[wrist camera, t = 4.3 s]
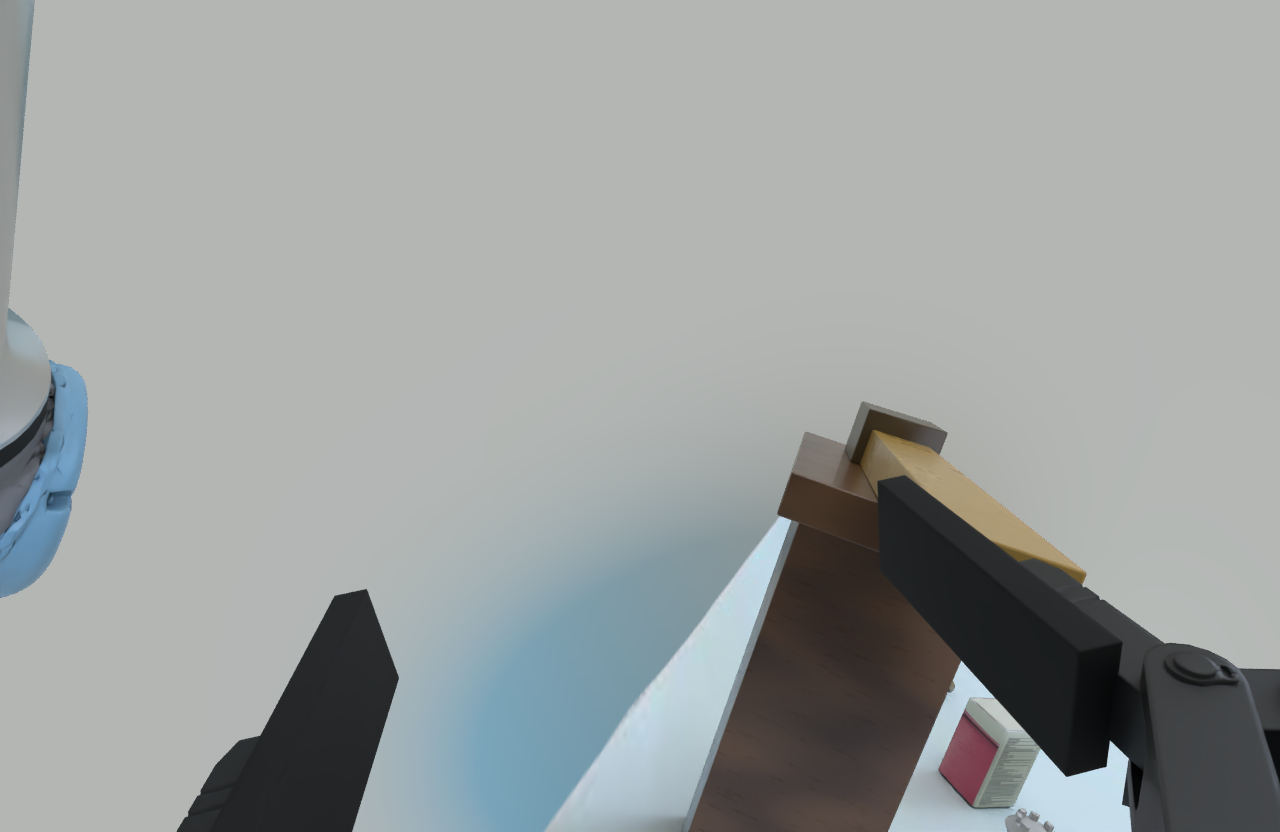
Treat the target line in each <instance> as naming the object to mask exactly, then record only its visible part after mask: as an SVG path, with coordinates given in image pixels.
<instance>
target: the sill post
mask: <svg viewBox="0 0 1280 832" xmlns="http://www.w3.org/2000/svg"><path fill="white" fill-rule="evenodd" d="M845 447H846V445H845V444H842V443H838V442H836V441H833V440H829V439H826V438H824V437H820V436H817V435H815V434H811V433H809V432H805V433H804V436H803V439H802V442H801V445H800V448H799V451H798V454H797V456H796V459H795V462H794V465H793V468H792V471H791V474H790V477H789V480H788V483H787V486H786V488H785V491H784V494H783V497H782V500H781V503H780V506H779V509H778V512H777V514H778V515H779V516H781V517H784V518H787V519H790V520H791V523H790V526H789V529H788V532H787V535H786V537H785V540H784V543H783V546H782V549H781V551H780V554H779V557H778V560H777V563H776V566H775V568H774V571H773V574H772V577H771V580H770V582H769V585H768V588H767V591H766V594H765V596H764V599H763V602H762V605H761V608H760V611H759V613H758V616H757V619H756V622H755V625H754V627H753V630H752V633H751V636H750V639H749V642H748V644H747V647H746V650H745V653H744V656H743V658H742V661H741V664H740V667H739V670H738V672H737V675H736V678H735V681H734V684H733V687H732V689H731V692H730V695H729V698H728V701H727V703H726V706H725V709H724V712H723V715H722V718H721V720H720V723H719V726H718V729H717V732H716V734H715V737H714V740H713V743H712V746H711V749H710V751H709V754H708V757H707V760H706V763H705V765H704V768H703V771H702V774H701V777H700V779H699V782H698V785H697V788H696V791H695V794H694V796H693V799H692V802H691V805H690V808H689V810H688V813H687V816H686V819H685V822H684V826H683V829H682V832H888V830H889V828H890V825H891V823H892V821H893V818H894V816H895V814H896V811H897V809H898V807H899V804H900V802H901V800H902V797H903V795H904V793H905V790H906V788H907V786H908V783H909V781H910V779H911V776H912V774H913V772H914V769H915V767H916V765H917V762H918V760H919V758H920V755H921V753H922V751H923V748H924V746H925V744H926V741H927V739H928V737H929V734H930V732H931V730H932V727H933V725H934V723H935V720H936V718H937V716H938V713H939V711H940V709H941V706H942V704H943V702H944V699H945V697H946V695H947V692H948V690H949V688H950V685H951V683H952V681H953V678H954V676H955V674H956V671H957V669H958V667H959V664H960V662H961V660H960V658H959V657H958V656H957V655H956V654H955V653H954V652H953V651H952V650H951V648H950V647H949V646H948V645H947V644H946V643H945V642H944V641H943V640H942V638H941V637H940V636H939V635H938V634H937V633H936V632H935V631H934V630H933V629H932V627H931V626H930V625H929V624H928V623H927V622H926V621H925V620H924V619H923V617H922V616H921V615H920V614H919V613H918V612H917V611H916V610H915V609H914V607H913V606H912V605H911V604H910V603H909V602H908V601H907V600H906V599H905V598H904V596H903V595H902V594H901V593H900V592H899V591H898V590H897V589H896V588H895V586H894V585H893V584H892V583H891V582H890V581H889V580H888V579H887V578H886V576H885V575H884V574H883V573H882V572H881V571H880V557H879V523H878V498H877V496H876V494H875V492H874V490H873V488H872V486H871V485H870V483H869V481H868V479H867V477H866V475H865V473H864V471H863V469H862V467H861V465H859V464H856V463H853V462H851V461H850V459H849V457H848V454H847V452H846V450H845Z"/></svg>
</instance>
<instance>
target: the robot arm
mask: <svg viewBox="0 0 1280 832" xmlns="http://www.w3.org/2000/svg"><path fill="white" fill-rule="evenodd" d="M33 13H34V0H0V598H2V597H6V596H9V595H11V594H15V593H17V592H19V591H21V590H23V589H25V588H27V587H28V586H30V585H31V584H32V583H34V582H35V581H36V580H37V579H38V578H39V577H40V576H41V575H42V574H43V572H44V571H45V570H46V568H47V567H48V566H49V564H50V563H51V561H52V559H53V557H54V555H55V553H56V551H57V549H58V546H59V544H60V542H61V539H62V537H63V535H64V532H65V529H66V526H67V523H68V519H69V516H70V512H71V503H72V500H71V495H72V494H73V492H74V490H75V488H76V486H77V482H78V479H79V476H80V473H81V467H82V462H83V456H84V449H85V441H86V433H87V417H88V407H87V391H86V386H85V382H84V380H83V378H82V377H81V376H80V374H79V373H78V372H77V371H75V370H74V369H72V368H71V367H68V366H64V365H60V364H56V363H54V362H52V361H51V360H48V356H47V353H46V351H45V348H44V346H43V344H42V342H41V340H40V339H39V338H38V336H37V335H36V333H35V332H34V331H33V329H32V328H31V327H30V326H29V325H28V324H27V323H26V322H25V321H24V320H22V319H21V318H20V317H19V316H18V315H16V314H15V313H14V312H13V311H12V310H10V309H9V308H8V302H9V290H10V280H11V268H12V256H13V244H14V233H15V221H16V209H17V198H18V186H19V175H20V163H21V162H20V161H21V151H22V139H23V127H24V116H25V104H26V93H27V81H28V70H29V58H30V47H31V46H30V45H31V34H32V23H33ZM877 489H878V523H879V557H880V571H881V572H882V573H883V574H884V575H885V576H886V578H887V579H888V580H889V581H890V582H891V583H892V584H893V585H894V586H895V588H896V589H897V590H898V591H899V592H900V593H901V594H902V595H903V596H904V598H905V599H906V600H907V601H908V602H909V603H910V604H911V605H912V606H913V607H914V609H915V610H916V611H917V612H918V613H919V614H920V615H921V616H922V617H923V619H924V620H925V621H926V622H927V623H928V624H929V625H930V626H931V627H932V629H933V630H934V631H935V632H936V633H937V634H938V635H939V636H940V637H941V638H942V640H943V641H944V642H945V643H946V644H947V645H948V646H949V647H950V648H951V650H952V651H953V652H954V653H955V654H956V655H957V656H958V657H959V658H960V660H961V661H962V662H963V663H964V664H965V665H966V666H967V667H968V668H969V669H970V671H971V672H972V673H973V674H974V675H975V676H976V677H977V678H978V679H979V681H980V682H981V683H982V684H983V685H984V686H985V687H986V688H987V689H988V691H989V692H990V693H991V694H992V695H993V696H994V697H995V698H996V699H997V701H998V702H999V703H1000V704H1001V705H1002V706H1003V707H1004V708H1005V709H1006V710H1007V712H1008V713H1009V714H1010V715H1011V716H1012V717H1013V718H1014V719H1015V720H1016V722H1017V723H1018V724H1019V725H1020V726H1021V727H1022V728H1023V729H1024V730H1025V732H1026V733H1027V734H1028V735H1029V736H1030V737H1031V738H1032V739H1033V740H1034V741H1035V743H1036V744H1037V745H1038V746H1039V747H1040V748H1041V749H1042V750H1043V751H1044V753H1045V754H1046V755H1047V756H1048V757H1049V758H1050V759H1051V760H1052V761H1053V763H1054V764H1055V765H1056V766H1057V767H1058V768H1059V769H1060V770H1061V771H1062V772H1063V774H1064V775H1065V776H1066V777H1068V776H1072V775H1076V774H1080V773H1084V772H1088V771H1091V770H1095V769H1099V768H1103V767H1106V766H1107V758H1108V750H1109V743H1110V741H1111V742H1112V743H1113V744H1114V745H1115V746H1117V747H1118V748H1119V749H1120V750H1121V751H1122V752H1123V753H1124V754H1125V755H1126V756H1127V757H1128V758H1129V761H1128V768H1127V774H1126V781H1125V788H1124V795H1123V802H1122V805H1125V806H1128V807H1130V817H1131V829H1132V832H1280V669H1239V668H1237V667H1235V666H1234V665H1233V664H1232V663H1230V662H1229V661H1228V660H1227V659H1225V658H1223V657H1221V656H1219V655H1216V654H1214V653H1212V652H1210V651H1208V650H1204V649H1201V648H1198V647H1194V646H1191V645H1186V644H1176V643H1166V644H1165V643H1163V642H1162V641H1160V640H1159V639H1158V638H1156V637H1155V636H1153V635H1152V634H1151V633H1149V632H1148V631H1146V630H1145V629H1144V628H1142V627H1141V626H1140V625H1138V624H1137V623H1135V622H1134V621H1133V620H1131V619H1130V618H1128V617H1127V616H1126V615H1124V614H1122V613H1121V612H1120V611H1118V610H1117V609H1115V608H1114V607H1113V606H1112V605H1110V604H1109V603H1107V602H1106V601H1105V600H1100V599H1099V596H1098V595H1096V594H1095V593H1093V592H1092V591H1091V590H1089V589H1088V588H1086V587H1084V588H1083V587H1082V584H1081V583H1080V582H1078V581H1077V580H1075V579H1074V578H1073V577H1071V576H1070V575H1068V574H1067V573H1066V572H1064V571H1063V570H1061V569H1059V568H1057V567H1054V566H1052V565H1049V564H1047V563H1045V562H1042V561H1040V560H1037V559H1035V558H1033V559H1028V560H1024V561H1019V562H1018V561H1017V560H1016V559H1014V558H1013V557H1012V556H1010V555H1009V554H1008V553H1006V552H1005V551H1004V550H1002V549H1001V548H1000V547H999V546H997V545H996V544H995V543H993V542H992V541H991V540H989V539H988V538H987V537H985V536H984V535H983V534H982V533H980V532H979V531H978V530H976V529H975V528H974V527H972V526H971V525H970V524H969V523H967V522H966V521H965V520H963V519H962V518H961V517H959V516H958V515H957V514H955V513H954V512H953V511H952V510H950V509H949V508H948V507H946V506H945V505H944V504H942V503H941V502H940V501H938V500H937V499H936V498H935V497H933V496H932V495H931V494H929V493H928V492H927V491H925V490H924V489H923V488H921V487H920V486H919V485H918V484H916V483H915V482H914V481H912V480H911V479H910V478H908V477H907V476H906V475H902V476H898V477H893V478H888V479H884V480H879V481H877ZM398 679H399V677H398V674H397V671H396V669H395V666H394V663H393V660H392V657H391V655H390V652H389V649H388V646H387V644H386V641H385V638H384V635H383V633H382V630H381V627H380V624H379V622H378V619H377V616H376V614H375V610H374V608H373V605H372V602H371V600H370V597H369V594H368V591H367V590H366V589H365V590H360V591H356V592H351V593H346V594H342V595H337V596H334V598H333V600H332V602H331V604H330V606H329V608H328V610H327V611H326V613H325V615H324V617H323V619H322V621H321V623H320V625H319V627H318V629H317V631H316V632H315V634H314V636H313V638H312V640H311V641H310V643H309V645H308V647H307V649H306V651H305V653H304V655H303V657H302V658H301V660H300V662H299V664H298V666H297V668H296V670H295V672H294V674H293V676H292V677H291V679H290V681H289V683H288V685H287V687H286V689H285V690H284V692H283V694H282V696H281V698H280V700H279V702H278V704H277V705H276V708H275V709H274V711H273V713H272V715H271V717H270V719H269V721H268V722H267V724H266V726H265V728H264V730H263V732H262V734H261V736H257V737H253V738H248V739H244V740H240V741H238V742H237V743H236V744H235V745H234V746H233V747H232V749H231V750H230V751H229V752H228V753H227V754H226V755H225V756H224V757H223V758H222V759H221V760H220V761H219V762H218V763H217V764H216V765H215V767H214V768H213V770H212V772H211V774H210V775H209V777H208V779H207V780H206V782H205V784H204V786H203V788H202V789H201V794H200V795H199V796H197V798H196V799H195V801H194V803H193V804H192V806H191V808H190V810H189V811H188V817H185V818H184V820H183V822H182V823H181V825H180V827H179V828H178V830H177V832H352V830H353V827H354V823H355V820H356V817H357V814H358V810H359V807H360V804H361V800H362V797H363V794H364V791H365V788H366V784H367V781H368V777H369V774H370V771H371V768H372V764H373V761H374V758H375V755H376V752H377V748H378V745H379V742H380V738H381V735H382V732H383V728H384V725H385V722H386V719H387V716H388V712H389V709H390V706H391V703H392V699H393V696H394V693H395V689H396V686H397V683H398Z"/></svg>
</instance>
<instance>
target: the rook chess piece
mask: <svg viewBox="0 0 1280 832" xmlns="http://www.w3.org/2000/svg"><path fill="white" fill-rule="evenodd" d="M1026 814H1027V811H1026V810H1025V809H1019V810H1018V812H1016V814H1015V815H1011V816H1008V817H1007V818H1006V819H1005V823H1006V827H1007V831H1008V832H1052V831H1053V829H1054V826H1053V825H1052V824H1050V823H1049V822H1048V821H1046V822H1045V824H1044V825H1042V824H1041V823H1039V822H1038V819H1039V814H1037V813H1035V812H1033V811H1031V813H1030V815H1029V816H1026Z"/></svg>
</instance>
